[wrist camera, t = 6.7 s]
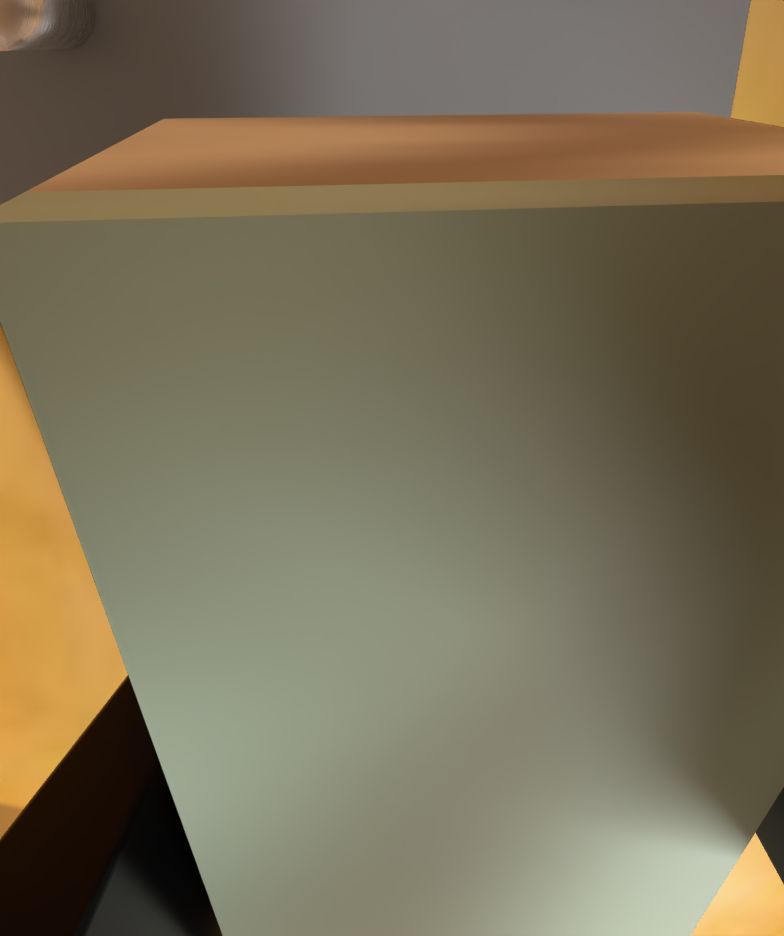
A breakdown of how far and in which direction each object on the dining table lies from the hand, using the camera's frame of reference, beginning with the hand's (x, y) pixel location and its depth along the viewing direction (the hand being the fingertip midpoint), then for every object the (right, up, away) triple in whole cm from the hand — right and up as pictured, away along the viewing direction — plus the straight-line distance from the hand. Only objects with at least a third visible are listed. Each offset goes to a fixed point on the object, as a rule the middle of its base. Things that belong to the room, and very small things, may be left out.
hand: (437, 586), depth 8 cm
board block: (0, +1, +1) cm, 1 cm away
